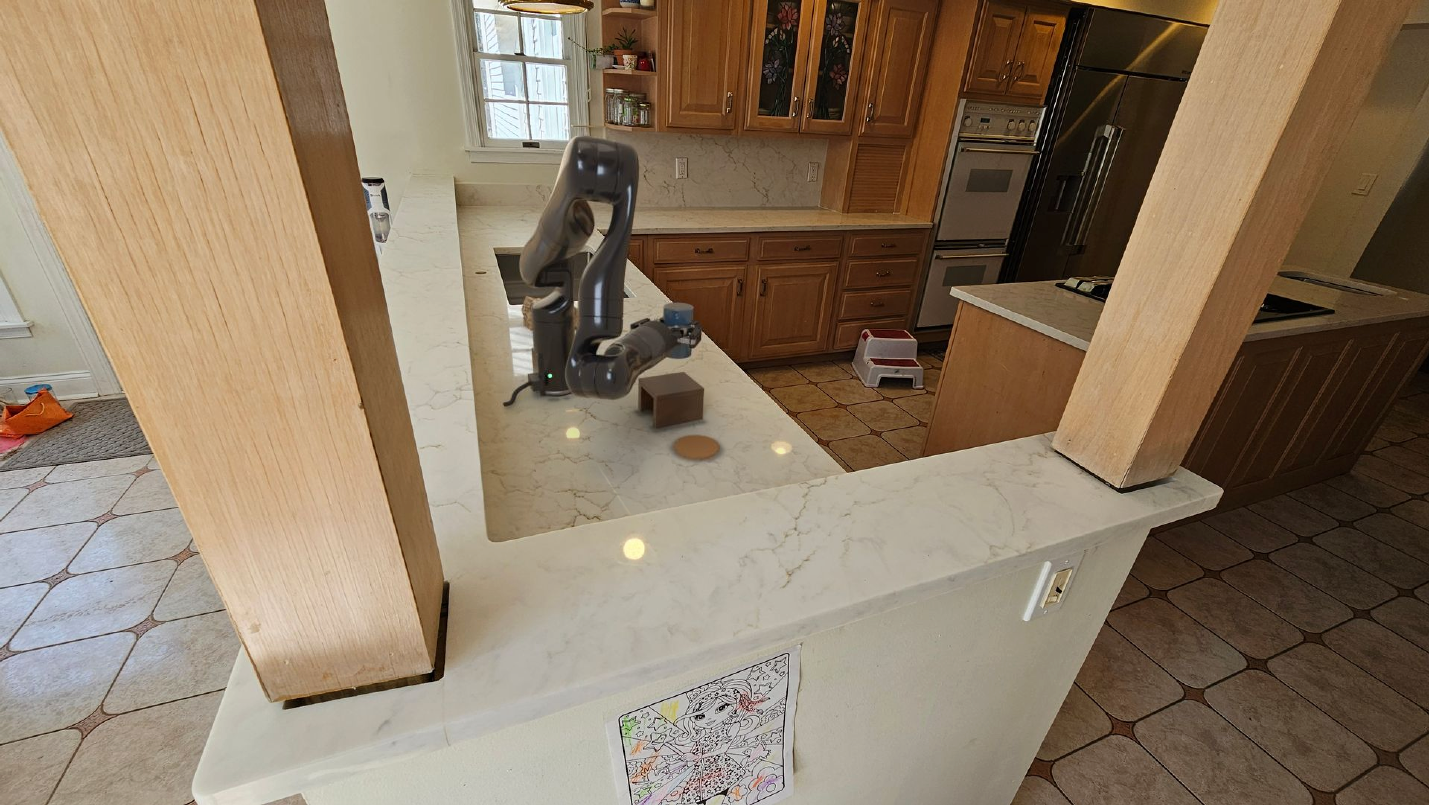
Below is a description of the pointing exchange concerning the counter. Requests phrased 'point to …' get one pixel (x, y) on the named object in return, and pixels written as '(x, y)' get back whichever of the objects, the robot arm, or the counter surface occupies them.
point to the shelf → (671, 399)
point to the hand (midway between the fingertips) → (682, 322)
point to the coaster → (696, 447)
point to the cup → (677, 316)
